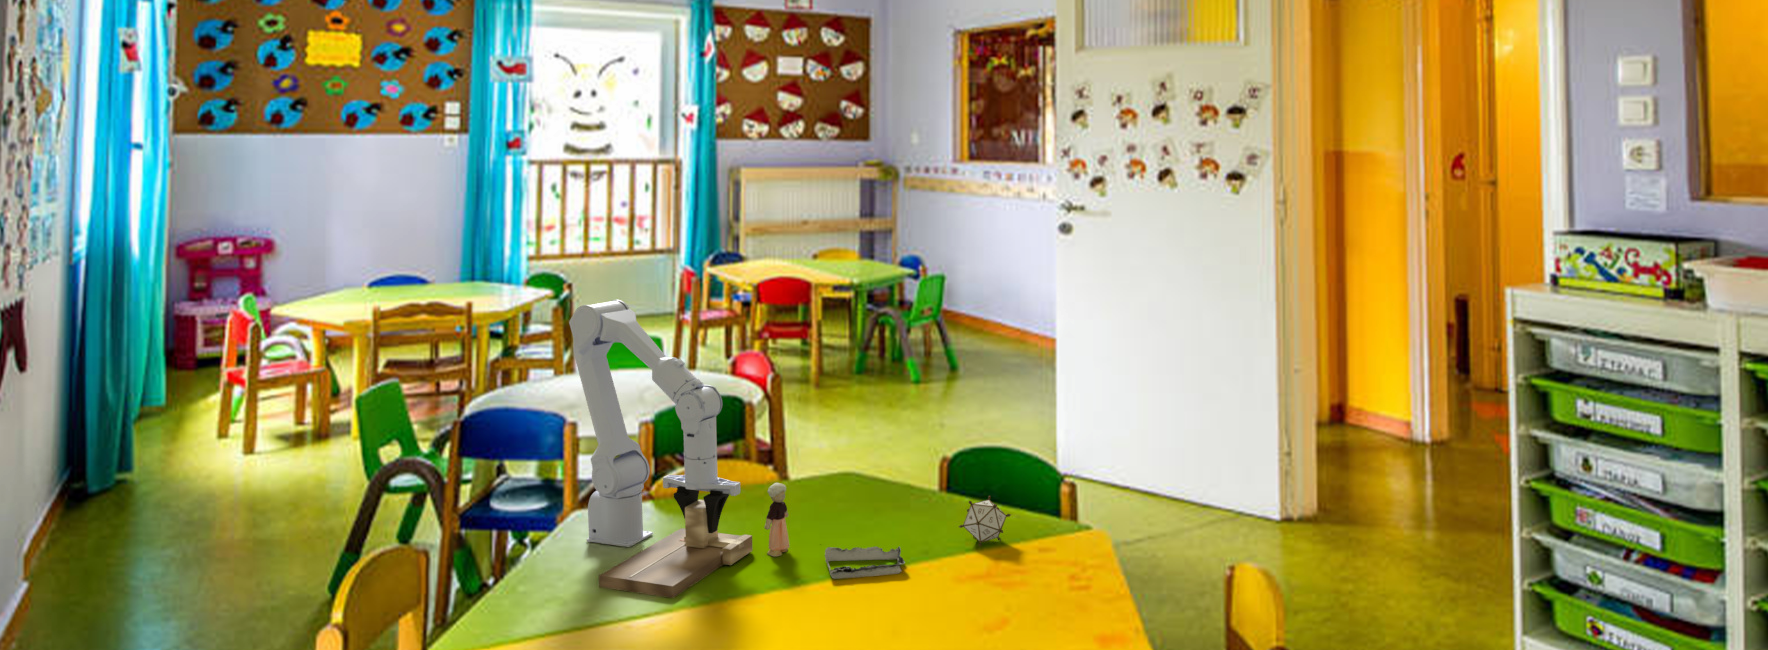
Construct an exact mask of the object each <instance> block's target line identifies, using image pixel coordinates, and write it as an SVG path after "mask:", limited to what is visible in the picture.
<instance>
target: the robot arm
mask: <svg viewBox="0 0 1768 650" xmlns="http://www.w3.org/2000/svg"><path fill="white" fill-rule="evenodd" d="M568 324H569V327H570V331H571V334H572V338H573V357H574V359H575V364H576V367H577V372H578V374H579V379H580V382H581V385H582V389H583V393H584V396H585V401H586V403H587V404H586V405H587V408H588V412H589V416H590V419H591V422H592V426H593V430H594V433H595V434H594V435H595V437H596V441H597V444H598V445H597V447H596V448H595V450H594V452H593V453H592V456H591V457H590V463H591V468H592V470H591V471H592V472H591V482H592V484H593V487H594V489H595V491H593V493H592V494H591V495H590V497H589V500H588V504H587V518H588V519H587V520H588V538H586V542H589V543H597V544H605V545H612V546H619V547H626V548H630V547H633V546H634V545H636V544H637V543H638V544H639V542H641V541H644V540H646V539H648V538H649V537H650V536H652V535H653V531H650V530H644V523H643V520H644V519H643V495H642V493H643V491H642V490H644V488H645V487H644V485H645V483H646V482H647V480H648V479H649V477H650V472H651V471H650V470H651V469H650V468H651V467H650V464H649V461H648V459H647V458H646V457H645V455H644V454H643V452H642V449H641V445H640V444H639V443H638V442H637V441H635V440H633V439H632V438H630V437H629V435H628V432H627V428H626V425H625V422H624V417H623V413H622V409H621V405H620V402H619V398H618V394H617V390H616V388H615V383H614V380H613V376H612V372H611V368H610V365H609V361H608V358H607V354H608V353H609V351H610V349H611V347H612V346H613V344H614V343H621V344H622V345H624V346H625V347H626V348H627V349H628V350H629V351H630V352H631V353H632V354H634V355H635V356H636V357H637V358H638V359H639V360H640V361H641V362H643V363H644V364H645V365H646V366H647V367H648V368H649V369H650V370H651V379H652V381H653V382H654V383H655V385H656V386H658V387H659V389H660V390H661V391H662V392H664V394H665V395H666V396H667V397H668V398H669V399H670V400H671V401H672V402H673V403H674V404H675V406H674V410H675V413H676V415H677V417H678V419H679V421H680V423H681V424H680V425H681V430H682V431H683V463H684V464H683V465H684V474H679V475H678V474H668V475H665V476H663V477H662V488H663V489H669V488H672V489H674V488H675V489H676V492H674V493H673V498H674V500H675V501H676V503H677V504H678V506H679V508H680V510H681V513H682V515H683V518H684V519H685V507H686V506H688V505H690V504H692V503H694V502H696V501H698V500H699V499H698V498H699V493H700V491H701V492H709V493H708V494H706V495H704V496H703V497H702V498H703V499H702V500H704V502H705V506H706V510H707V521H708V532H709V533H714V532H715V531H717V529H718V528H719V523H720V519H721V515H722V512H723V509H724V508H725V504H726V503H727V500H728V498H729V497H730V496H731V497H733V496H734V497H736V496H738V495H740V493H741V482H740V481H732V480H730V479H725V478H722V477H718V445H717V444H718V443H717V442H718V439H717V437H718V436H717V416H718V415H719V414H720V413H721V411H722V409H723V398H722V396H721V394H720V391H718V390H717V387H716V386H714V385H712V384H705V383H703V382H702V381H701V380H700V379H699V378H697V377H696V376H695V375H693V373H692V372H691V371H690V370H689V369H688V368H687V367H686V366H685V362H684V361H683V360H682V359H679V358H677V357H675V356H671V357H670V356H669V357H668V356H666V355H665V353H664V352H663V351H662V350H661V349H660V347H659V346H658V345H657V344H656V342H655V341H654V340H653V338H652V337H650V335H649V334H648V333H647V332H646V331H645V329H644V328H643V327H642V326H641V325H640V324H639V322H638V320H637V313H636V312H635V311H634V310H632V309H631V308H630V307H629V305H628V304H627V303H626V302H625V301H623V300H620V299H613V300H611V301H606V302H605V301H604V302H599V303H594V304H593V303H592V304H582V305H580V306H578V307H576V309H575V311H574V312H573V315H572V316H571V318H570V319H569V320H568ZM718 530H719V529H718Z"/></svg>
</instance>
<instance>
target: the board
mask: <svg viewBox="0 0 1768 650" xmlns="http://www.w3.org/2000/svg"><path fill="white" fill-rule="evenodd" d="M685 536H686V532H685V528H682V527H681V528H679V529H677V530H675V531H674V532H672V533H670V534H669V535H666V536H665V537H663V538H662V539H660V540H658V541H656V542H655V543H653V544H651V545H650V546H648V547H646V548H644V549H642V550H640V551H639V552H637V553H636V554H633V555H632V556H630V557H628V558H627V559H625V560H623V561H621V562H620V563H618V564H616V565H614V566H612V567H611V568H609V569H607V570H605V571H604V572H601V573H600V574H599V575H598V586H599V588H604V589H612V590H618V591H625V592H629V593H639V594H644V595H650V596H657V597H664V598H669V599H674V598H676V597H677V596H679V595H681V594H682V593H683V592H685V591H686V590H688V589H689V588H690V587H692V586H694V585H695V584H697V583H699V582H700V581H701V580H703V579H705V578H706V577H708V576H709V575H710V574H712V573H714V571H716V570H718V569H719V568H720V567H722V566H723V565H725V564H723V559H722V547H715V546H707V547H705V548H698V547H691V546H686V543H685V542H684V537H685ZM741 536H742V535H739V534H729V533H721V532H718V537H720V538H728V539H738V538H739V537H741Z"/></svg>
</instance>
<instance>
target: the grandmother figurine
mask: <svg viewBox="0 0 1768 650" xmlns="http://www.w3.org/2000/svg"><path fill="white" fill-rule="evenodd" d="M786 491H787V486H786V484H783V483H779V482H774V483H773V484H772V485H770V486H769V487H768V490H767V493H768V496H769V497H770V499H771V500H772V503H771V504H770V506H769V510H768V513H767V515H766V518H765V519H766V520H765V524H764V529H765V530H770V531H769V536H768V537H769V538H768V549H769V550H768V551H767V553H766V554H767V555H768V556H771V557H775V558H776V557H780V556H782V555H783V553H786V552H787V551H788V550H789V548H790V540H789V533H788V528H787V523H786V522H787V521H786V518H788V517H789V512H788V507H787V505H786V503H785V501H784V500H785V499H786Z"/></svg>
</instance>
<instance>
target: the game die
mask: <svg viewBox="0 0 1768 650" xmlns="http://www.w3.org/2000/svg"><path fill="white" fill-rule="evenodd" d="M991 498H992V497H991V495H988V496H987V499H986V500H982V501H977V502H974V503H973V501H971V500H968V504H969V505H970V506H969V508H968V509H966V512H967V514H966V516H965V519H964V521H963V524H960V525H958V528H960V529H962V528H964V529H965V530H966V531H967V532H968V533H969V534H970V535H971V536H972V537H973V538H975V539H976V540H977V542H979V543H978V546H979V547H981V546H982V543H983V542H987V541H991V540H995V539H997V541H999V542H1001V539H1002V538H1001V537H1000V535H1001V534H1003V533H1004V531H1003V526H1004V524H1005V523H1006V519H1007V517H1009V518H1010V517H1011V516H1012V514H1010V513H1007V514H1006V513H1005V512H1004V511H1002V510H1001V508H999V507H998V505H997V503H994V502H993V501H991Z"/></svg>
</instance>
